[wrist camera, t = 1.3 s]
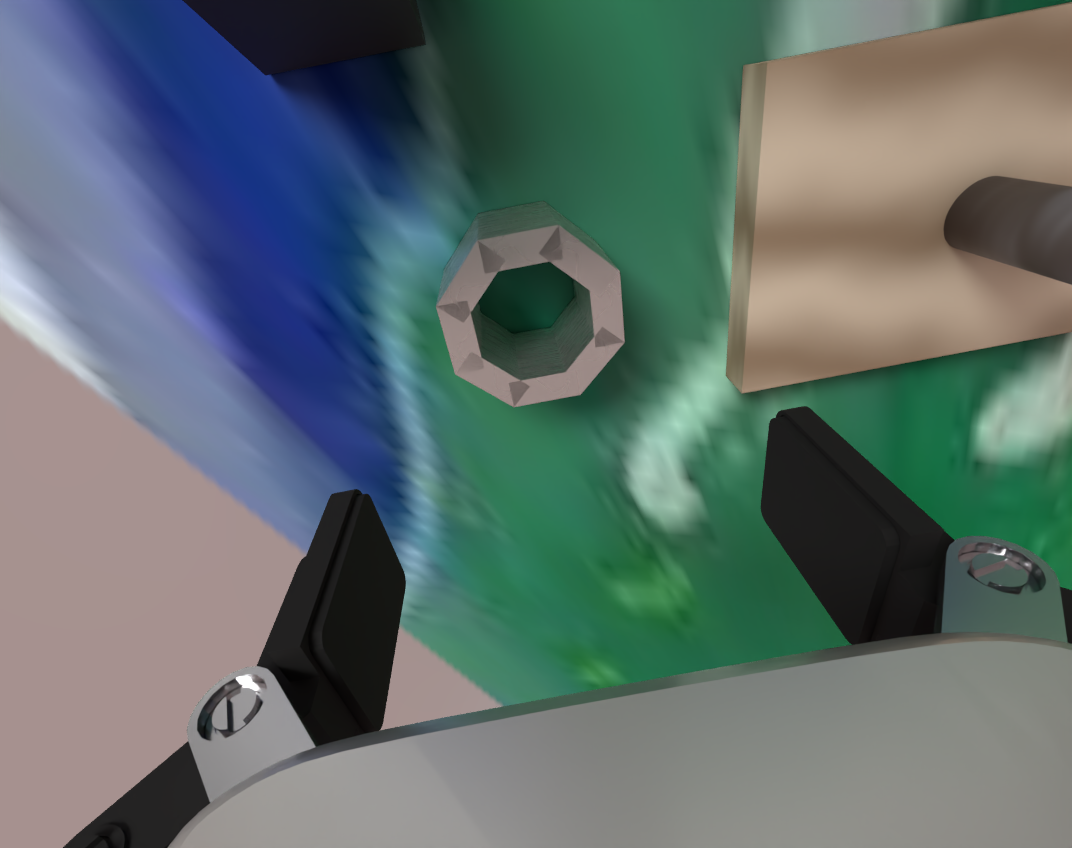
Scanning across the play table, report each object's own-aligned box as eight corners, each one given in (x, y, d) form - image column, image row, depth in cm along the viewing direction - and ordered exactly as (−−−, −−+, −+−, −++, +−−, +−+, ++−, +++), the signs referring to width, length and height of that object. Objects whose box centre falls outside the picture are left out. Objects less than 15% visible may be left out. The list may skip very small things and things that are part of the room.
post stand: (742, 65, 20) (903, 44, 12) (1249, -33, 20) (1729, -116, 12) (725, 375, 27) (818, 479, 20) (1088, 307, 27) (1320, 386, 20)
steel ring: (432, 222, 22) (420, 251, 18) (590, 191, 22) (616, 213, 18) (469, 364, 26) (467, 416, 22) (603, 339, 26) (627, 385, 21)
